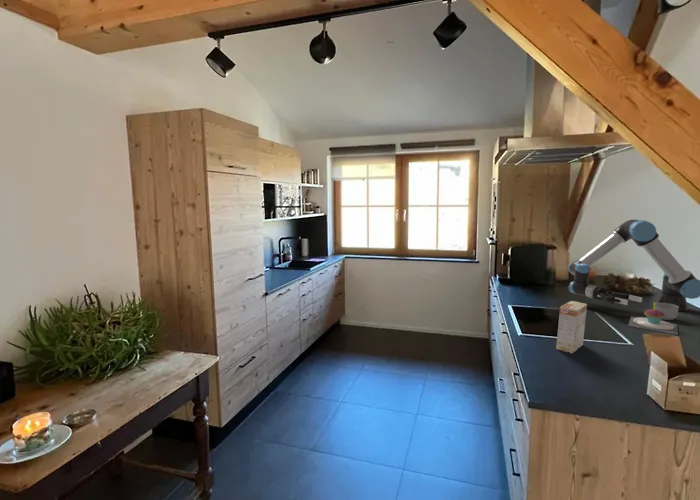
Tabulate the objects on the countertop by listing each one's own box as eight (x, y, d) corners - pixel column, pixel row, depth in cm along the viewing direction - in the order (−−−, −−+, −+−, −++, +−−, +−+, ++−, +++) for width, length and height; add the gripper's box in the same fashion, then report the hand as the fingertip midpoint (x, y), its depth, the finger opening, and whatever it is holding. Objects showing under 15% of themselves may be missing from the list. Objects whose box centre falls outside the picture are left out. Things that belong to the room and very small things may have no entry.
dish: (630, 317, 217) (631, 314, 217) (676, 325, 205) (677, 322, 204) (628, 326, 202) (628, 322, 202) (677, 335, 189) (678, 331, 189)
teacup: (681, 322, 210) (683, 308, 209) (659, 320, 212) (661, 306, 211) (666, 314, 223) (668, 301, 222) (645, 313, 225) (647, 300, 224)
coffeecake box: (566, 340, 179) (570, 300, 177) (583, 345, 174) (588, 303, 172) (555, 349, 169) (559, 306, 167) (572, 354, 164) (577, 310, 161)
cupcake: (660, 326, 197) (664, 303, 195) (641, 321, 204) (643, 300, 202) (665, 323, 202) (668, 301, 201) (645, 318, 209) (648, 297, 207)
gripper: (607, 296, 235) (646, 305, 217) (582, 300, 225) (620, 310, 206) (609, 284, 234) (648, 292, 215) (583, 288, 224) (622, 297, 205)
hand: (634, 301), depth 211 cm, fingers open, 13 cm apart
